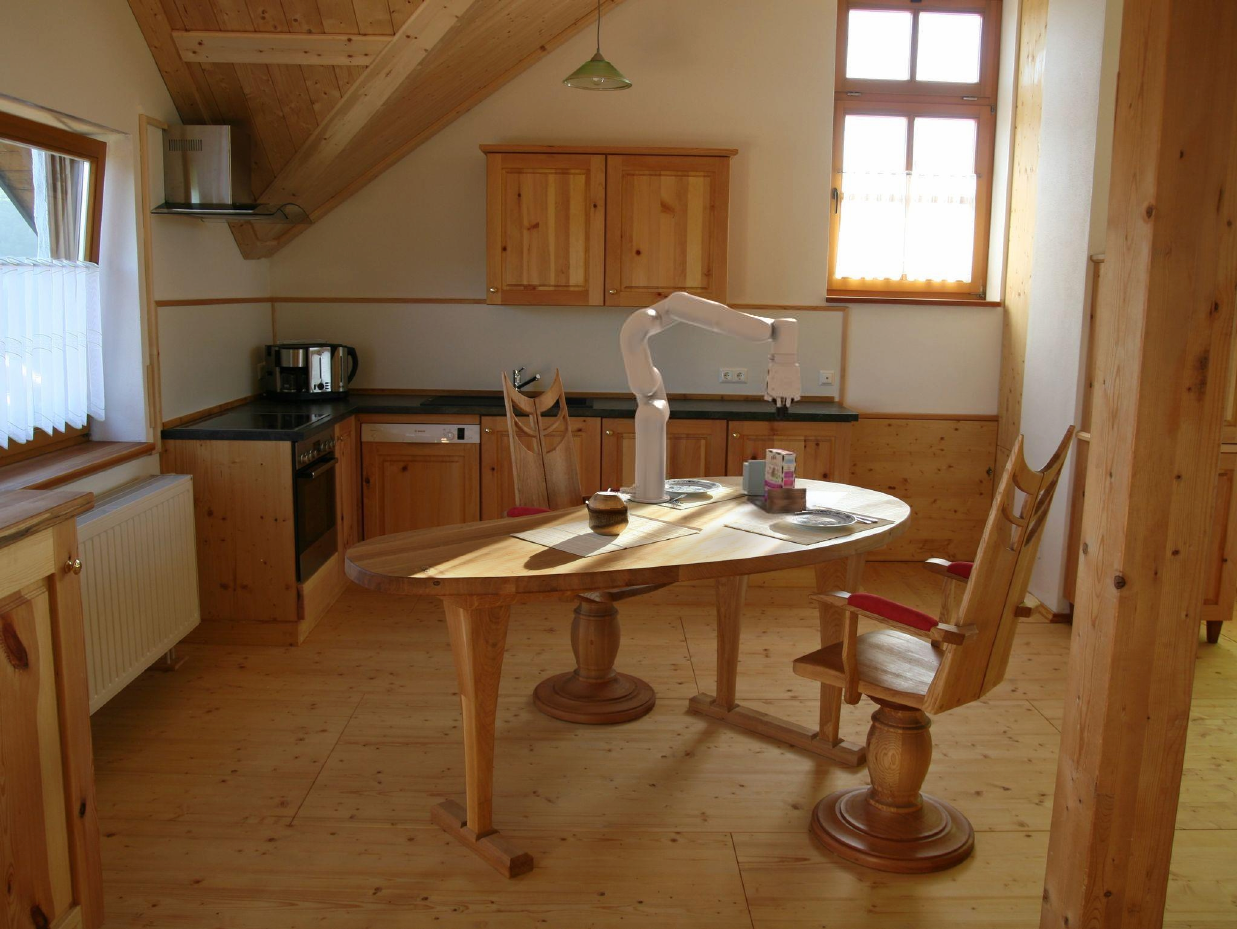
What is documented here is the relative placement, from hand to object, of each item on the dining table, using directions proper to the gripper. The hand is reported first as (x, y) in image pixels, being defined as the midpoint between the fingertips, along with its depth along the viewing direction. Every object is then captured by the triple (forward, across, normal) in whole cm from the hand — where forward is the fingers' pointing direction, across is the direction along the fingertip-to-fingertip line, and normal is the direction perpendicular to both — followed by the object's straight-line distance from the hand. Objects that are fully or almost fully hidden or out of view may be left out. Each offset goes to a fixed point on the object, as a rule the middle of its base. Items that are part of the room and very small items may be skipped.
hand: (781, 419), depth 329 cm
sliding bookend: (+26, 0, +17) cm, 31 cm away
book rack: (+27, 0, 0) cm, 27 cm away
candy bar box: (+27, 0, 0) cm, 27 cm away
